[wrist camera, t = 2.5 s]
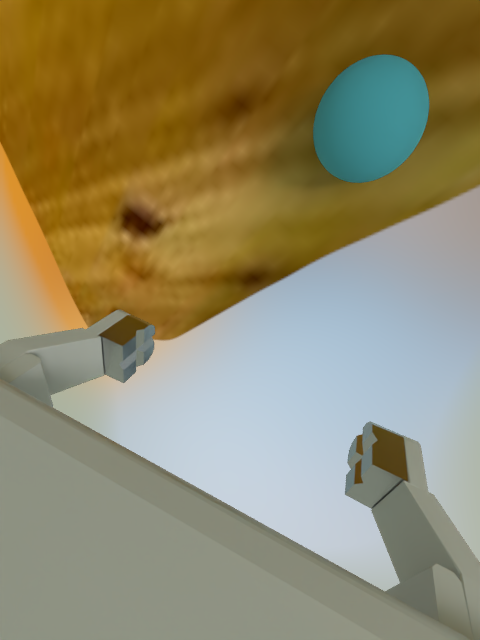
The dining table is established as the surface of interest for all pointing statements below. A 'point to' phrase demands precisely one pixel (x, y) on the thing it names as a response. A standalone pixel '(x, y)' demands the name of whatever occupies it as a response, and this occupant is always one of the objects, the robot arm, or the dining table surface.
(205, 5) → the dining table surface
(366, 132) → the ball
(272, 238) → the dining table surface
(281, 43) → the dining table surface
